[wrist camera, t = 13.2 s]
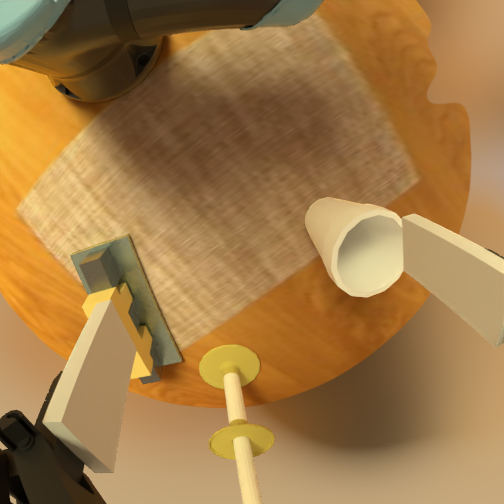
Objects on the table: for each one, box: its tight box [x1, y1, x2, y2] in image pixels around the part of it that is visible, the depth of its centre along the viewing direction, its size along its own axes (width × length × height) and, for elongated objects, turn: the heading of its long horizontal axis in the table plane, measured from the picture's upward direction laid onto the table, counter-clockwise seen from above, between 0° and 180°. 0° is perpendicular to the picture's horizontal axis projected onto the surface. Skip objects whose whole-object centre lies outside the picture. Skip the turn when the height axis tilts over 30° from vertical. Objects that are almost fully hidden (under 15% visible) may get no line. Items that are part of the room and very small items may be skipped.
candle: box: [199, 344, 275, 504], centre depth 33 cm, size 10×10×32 cm
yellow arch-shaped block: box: [82, 283, 153, 379], centre depth 37 cm, size 12×4×6 cm, turn 14°
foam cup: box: [305, 197, 403, 298], centre depth 35 cm, size 10×9×13 cm
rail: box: [70, 234, 182, 384], centre depth 39 cm, size 21×9×5 cm, turn 14°
